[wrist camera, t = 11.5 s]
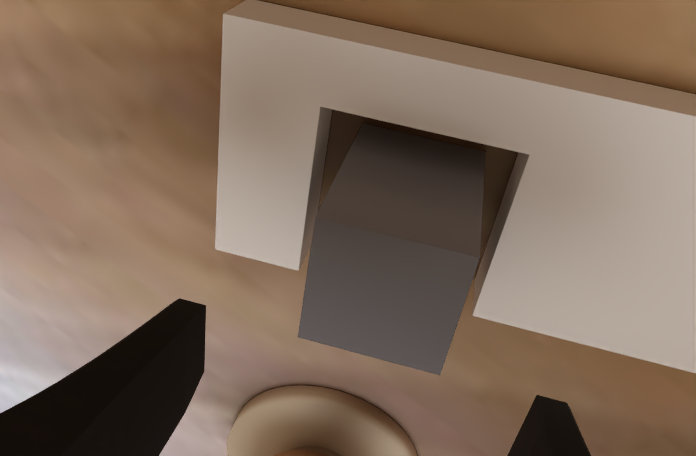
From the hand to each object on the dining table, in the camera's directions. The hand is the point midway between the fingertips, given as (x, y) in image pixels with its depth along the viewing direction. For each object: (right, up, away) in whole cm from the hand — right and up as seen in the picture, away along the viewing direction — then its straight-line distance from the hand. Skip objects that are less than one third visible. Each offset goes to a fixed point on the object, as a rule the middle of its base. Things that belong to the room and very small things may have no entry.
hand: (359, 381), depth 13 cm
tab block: (+2, +5, +7) cm, 9 cm away
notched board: (+5, +5, +6) cm, 9 cm away
